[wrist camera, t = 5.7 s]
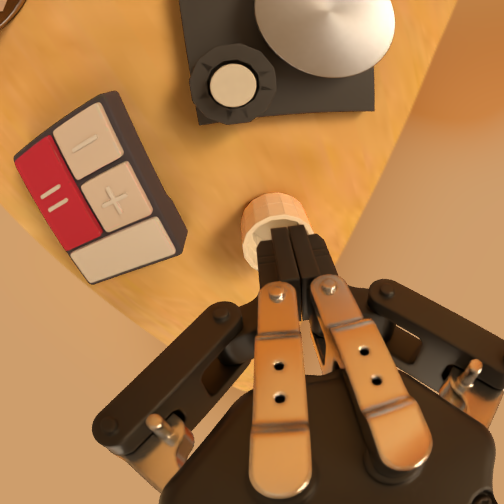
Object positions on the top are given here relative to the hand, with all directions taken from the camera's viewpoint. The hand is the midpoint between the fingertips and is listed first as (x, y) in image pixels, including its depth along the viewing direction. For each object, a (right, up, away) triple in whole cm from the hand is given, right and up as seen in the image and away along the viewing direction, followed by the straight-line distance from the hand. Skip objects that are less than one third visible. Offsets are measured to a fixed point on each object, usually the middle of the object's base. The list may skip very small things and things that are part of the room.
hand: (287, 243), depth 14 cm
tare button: (-3, +11, +5) cm, 13 cm away
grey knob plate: (+1, +16, +5) cm, 16 cm away
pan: (+4, +16, +2) cm, 16 cm away
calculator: (-15, +6, +12) cm, 20 cm away
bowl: (0, +3, +15) cm, 15 cm away
